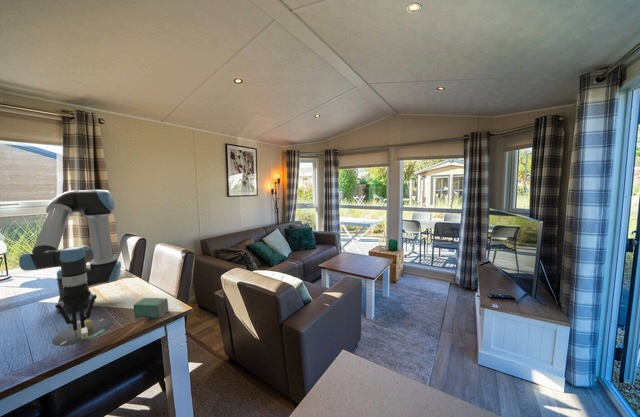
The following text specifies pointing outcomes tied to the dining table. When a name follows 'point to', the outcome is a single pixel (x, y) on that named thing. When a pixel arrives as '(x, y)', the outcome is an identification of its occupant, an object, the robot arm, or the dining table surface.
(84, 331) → the round-headed handle
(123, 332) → the dining table surface
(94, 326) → the plate
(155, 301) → the box
